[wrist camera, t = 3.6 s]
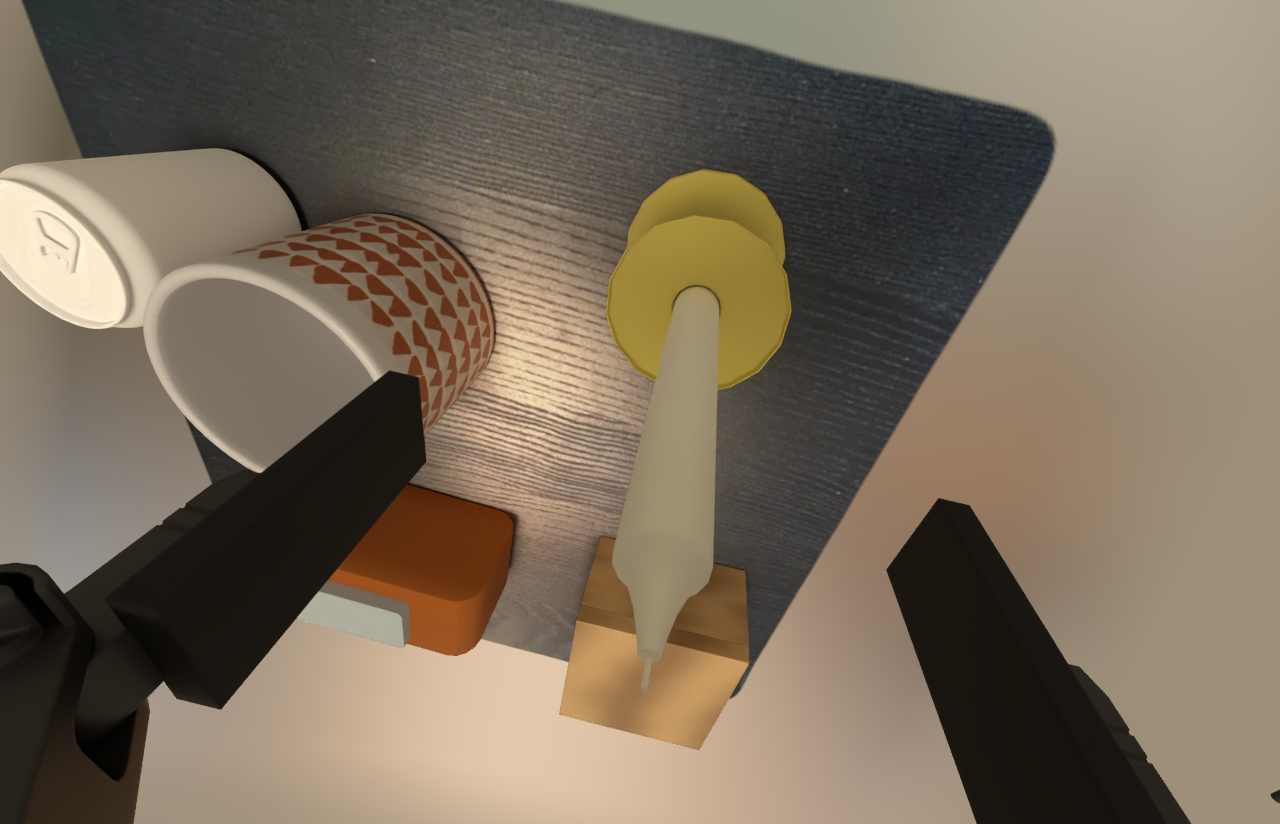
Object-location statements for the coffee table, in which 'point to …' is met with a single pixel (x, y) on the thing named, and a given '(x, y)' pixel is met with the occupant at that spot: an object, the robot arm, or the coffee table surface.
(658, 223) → the candle
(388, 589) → the alarm clock
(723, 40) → the coffee table surface
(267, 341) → the planter
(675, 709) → the lidded tan carton
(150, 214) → the beverage can
